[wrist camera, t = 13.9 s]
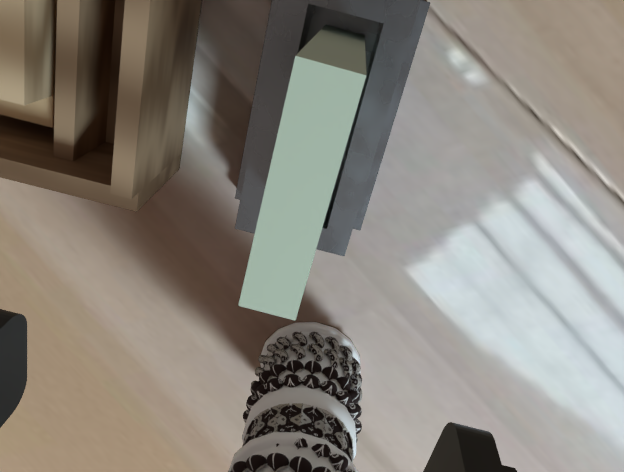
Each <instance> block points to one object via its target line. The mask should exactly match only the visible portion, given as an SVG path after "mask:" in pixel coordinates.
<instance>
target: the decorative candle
mask: <svg viewBox="0 0 624 472" xmlns="http://www.w3.org/2000/svg"><path fill="white" fill-rule="evenodd" d="M259 362H260V365H261V367H257V368H256V369H255V374H256V375H257V376H259V381H253V382H252V383H251V393H252V394H253V395H251V396H249V397H248V400H247V403H246V405H247V408H248V410H246V411H245V412H244V413H243V419H244V421H245V422H246V424H245V428H244V432H243V435H242V439H243V446H242V448H241V449H240V450H238V451H237V452H236V453H235V454H234V457H233V460H232V463H231V465H230V468H229V471H228V472H358V471H357V469H356V468H355V466H354V465H353V459H354V457H355V455H356V443H357V435H356V434H358V433H360V431H361V428H362V426H361V422H360V421H359V420H358V419H357V418H358V417H360V415H361V407H360V406H359V405H358V403H359V402H360V401H361V398H362V390H361V388H360V387H361V384H362V378H361V375H360V355H359V353H358V352H357V350H356V348H355V346H354V345H353V343H352V341H351V340H350V339H349V338H348V337H346V336H345V335H344V334H342V333H341V332H340V331H339V330H337V329H336V328H333V327H330V326H327V325H324V324H321V323H318V322H295V323H293V324H290V325H288V326H285V327H283V328H280V329H278V330H277V331H276V332H275V333H274V334H273V335H271V336H270V337H269V338H268V339H267V340H266V341H265V344H264V347H263V350H262V353H261V355H260V356H259Z"/></svg>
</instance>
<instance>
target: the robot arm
mask: <svg viewBox="0 0 624 472" xmlns="http://www.w3.org/2000/svg"><path fill="white" fill-rule="evenodd" d="M26 381H27V321H26V318H25V316H24V315H22V314H18V313H14V312H10V311H6V310H2V309H0V428H1V426H2V425H3V424H4V423H5V421H6V420H7V419H8V418H9V417H10V415H11V414H12V413H13V412H14V410H15V409H16V407H17V405H18V404H19V402H20V400H21V398H22V395H23V393H24V390H25V386H26ZM423 472H517V471H516V469H515V468H512V467H508V466H504V465H502V464H501V461H500V457H499V454H498V450H497V447H496V444H495V440H494V437H493V436H492V434H491V433H490V432H488V431H484V430H480V429H476V428H472V427H468V426H464V425H460V424H456V423H452V422H450V423H448V424H447V425H446V426H445V427H444V429H443V431H442V433H441V436H440V438H439V440H438V442H437V444H436V446H435V448H434V450H433V452H432V455H431V457H430V459H429V461H428V463H427V465H426V467H425V469H424V471H423Z"/></svg>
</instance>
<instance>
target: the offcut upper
mask: <svg viewBox="0 0 624 472" xmlns="http://www.w3.org/2000/svg"><path fill="white" fill-rule="evenodd" d="M54 32H55V0H0V99H1V100H4V101H8V102H12V103H16V104H20V105H24V106H25V105H27V104H30V103H33V102H36V101H39V100H42V99H45V98H47V97H50V96H53V75H54Z"/></svg>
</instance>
